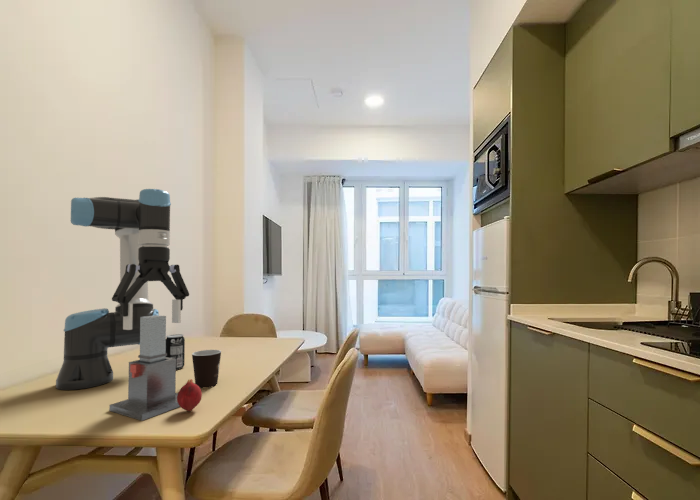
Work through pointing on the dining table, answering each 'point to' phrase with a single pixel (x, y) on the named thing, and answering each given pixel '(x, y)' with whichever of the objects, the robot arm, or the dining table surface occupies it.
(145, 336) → the column
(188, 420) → the dining table surface
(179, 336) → the beverage can
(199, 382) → the coffee mug
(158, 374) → the stand
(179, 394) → the onion
